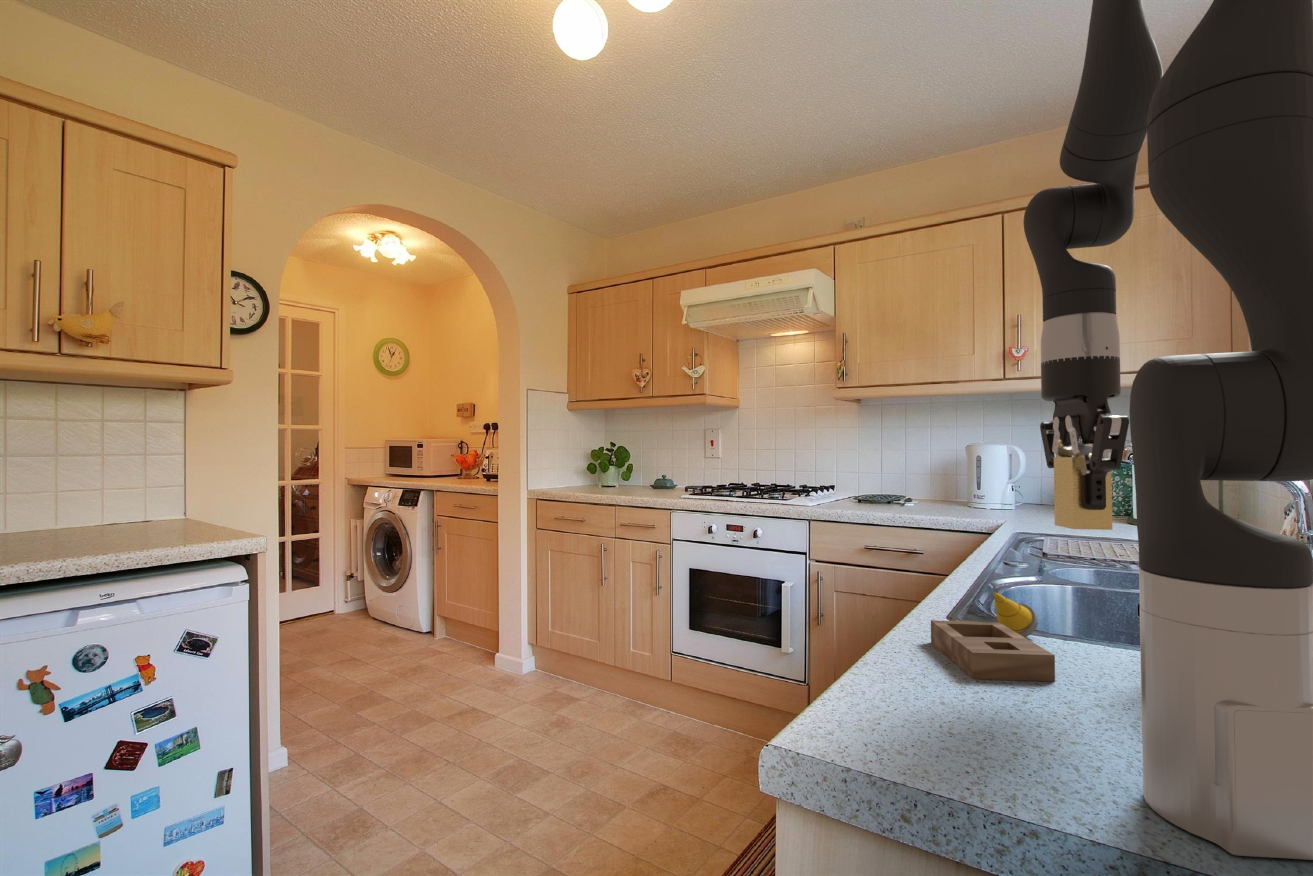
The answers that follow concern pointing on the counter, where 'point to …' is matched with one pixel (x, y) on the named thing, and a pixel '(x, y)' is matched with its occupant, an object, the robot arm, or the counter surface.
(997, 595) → the drill bit
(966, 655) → the bore block
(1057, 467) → the tan square peg
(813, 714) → the counter surface
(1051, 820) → the counter surface
